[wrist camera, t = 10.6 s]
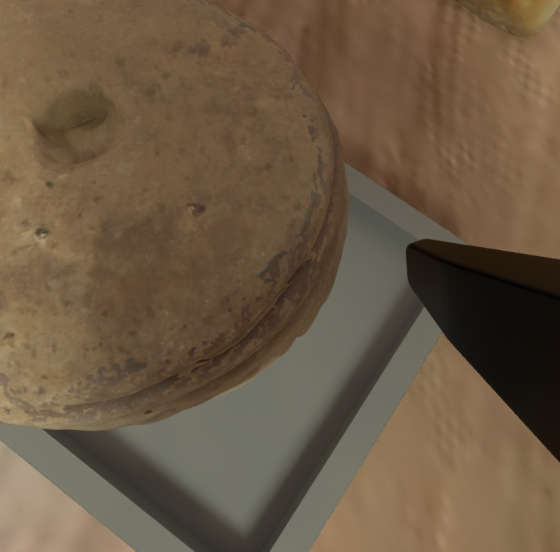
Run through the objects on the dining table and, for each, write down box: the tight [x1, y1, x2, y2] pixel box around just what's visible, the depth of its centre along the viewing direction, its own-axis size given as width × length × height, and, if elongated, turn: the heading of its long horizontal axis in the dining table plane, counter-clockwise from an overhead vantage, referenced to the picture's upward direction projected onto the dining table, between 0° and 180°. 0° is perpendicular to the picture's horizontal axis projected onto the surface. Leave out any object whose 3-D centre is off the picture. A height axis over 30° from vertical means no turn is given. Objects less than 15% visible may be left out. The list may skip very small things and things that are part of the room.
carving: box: [0, 0, 350, 431], centre depth 11 cm, size 6×8×12 cm
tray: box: [0, 162, 469, 552], centre depth 16 cm, size 15×15×2 cm
